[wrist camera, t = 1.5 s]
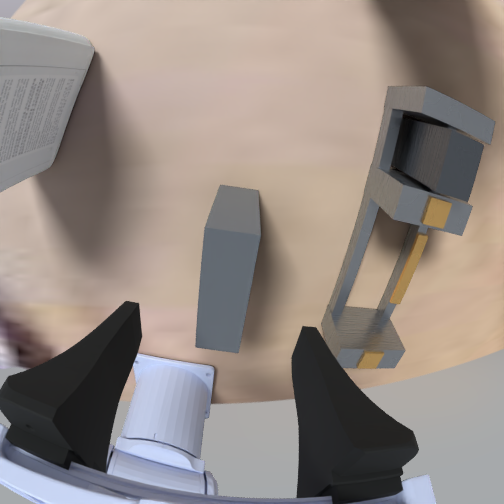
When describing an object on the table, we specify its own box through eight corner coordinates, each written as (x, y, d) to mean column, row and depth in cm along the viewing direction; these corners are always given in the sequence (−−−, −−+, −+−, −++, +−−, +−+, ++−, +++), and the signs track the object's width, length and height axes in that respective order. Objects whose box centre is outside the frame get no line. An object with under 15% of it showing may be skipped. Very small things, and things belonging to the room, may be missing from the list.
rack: (377, 327, 26) (398, 377, 20) (321, 323, 25) (334, 377, 20) (451, 112, 17) (506, 124, 11) (388, 86, 16) (436, 86, 11)
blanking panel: (242, 285, 23) (238, 353, 17) (209, 281, 23) (195, 347, 17) (258, 190, 20) (260, 235, 14) (220, 184, 20) (204, 227, 14)
